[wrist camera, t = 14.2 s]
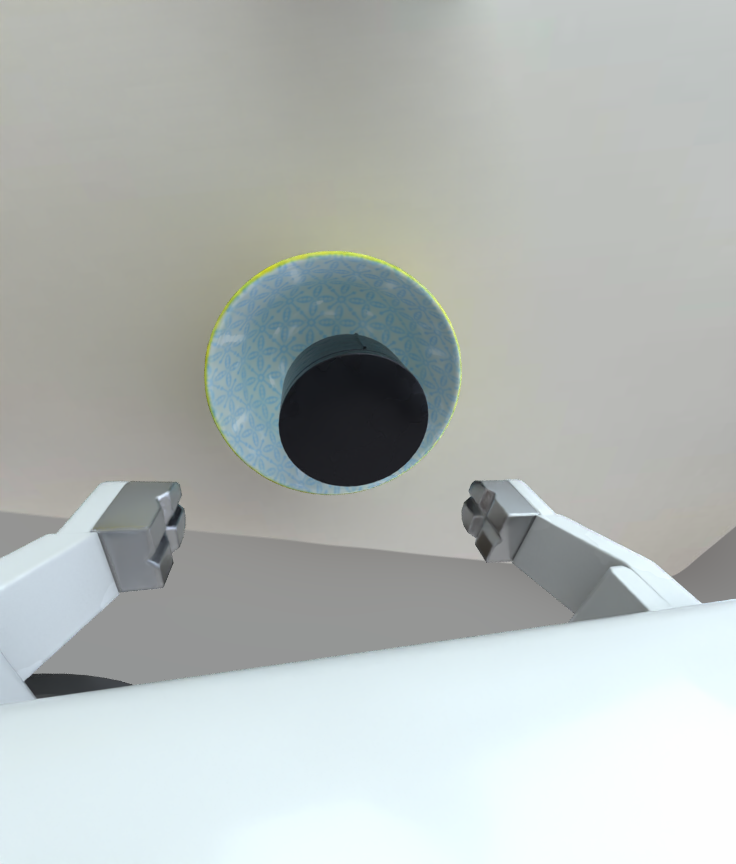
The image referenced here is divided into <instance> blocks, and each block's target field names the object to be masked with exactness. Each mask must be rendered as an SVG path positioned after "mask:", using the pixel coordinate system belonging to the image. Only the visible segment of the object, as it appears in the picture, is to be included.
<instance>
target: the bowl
mask: <svg viewBox="0 0 736 864" xmlns="http://www.w3.org/2000/svg"><path fill="white" fill-rule="evenodd" d="M355 333H358V335H362V336H366V337H369V338H372V339H374V340H376V341H378V342H380V343H382V344H383V345H385V346H386V347H387V348H389V349H390V350H391V351H392V352H393V353H394V354H395V355H396V356H397V357H398V359H399V360H400V361H401V362H402V363H403V364H404V365H405V366H406V367H407V368H408V370H409V371H410V372H411V373H412V374H413V375H414V376H415V378H416V379H417V380H418V381H419V383H420V385H421V387H422V388H423V391H424V393H425V396H426V399H427V403H428V412H429V416H428V425H427V430H426V433H425V436H424V439H423V441H422V443H421V445H420V447H419V448H418V450H417V451H416V453H415V454H414V455H413V457H412V458H411V459H410V460H409V461H408V462H407V463H406V464H405V465H404V466H403V467H402V468H400V469H399V470H398V471H396V472H395V473H393V474H392V475H390V476H388V477H386V478H384V479H382V480H379V481H377V482H374V483H370V484H366V485H361V486H351V487H344V486H334V485H329V484H325V483H322V482H320V481H317V480H315V479H313V478H311V477H309V476H307V475H306V474H304V473H303V472H302V471H300V470H299V469H298V468H297V467H296V466H295V465H294V464H293V463H292V461H291V460H290V459H289V458H288V456H287V454H286V452H285V451H284V448H283V446H282V443H281V440H280V436H279V426H278V423H279V413H280V405H281V397H282V388H283V383H284V379H285V376H286V374H287V371H288V369H289V368H290V366H291V364H292V363H293V361H294V360H295V359H296V357H297V356H298V355H299V354H300V353H301V352H302V351H303V350H305V349H306V348H307V347H309V346H310V345H311V344H313V343H315V342H317V341H319V340H321V339H324V338H327V337H330V336H334V335H341V334H355ZM461 377H462V374H461V355H460V349H459V345H458V342H457V338H456V335H455V332H454V330H453V327H452V325H451V322H450V320H449V319H448V317H447V315H446V313H445V311H444V310H443V308H442V307H441V306H440V304H439V303H438V301H437V300H436V299H435V298H434V296H433V295H432V294H431V293H430V292H429V291H428V290H427V289H426V288H425V287H424V286H423V285H422V284H421V283H419V282H418V281H417V280H416V279H414V278H413V277H412V276H410V275H409V274H408V273H406V272H404V271H403V270H401V269H399V268H398V267H396V266H394V265H392V264H389V263H387V262H385V261H382V260H379V259H376V258H374V257H371V256H366V255H362V254H357V253H352V252H343V251H322V252H314V253H307V254H303V255H299V256H295V257H291V258H288V259H285V260H282V261H280V262H278V263H276V264H274V265H272V266H270V267H268V268H266V269H264V270H263V271H261V272H260V273H258V274H257V275H255V276H254V277H253V278H251V279H250V280H249V281H248V282H246V283H245V284H244V285H243V286H242V287H241V288H240V289H239V290H238V291H237V292H236V293H235V294H234V296H233V297H232V298H231V299H230V301H229V302H228V303H227V305H226V306H225V308H224V310H223V311H222V313H221V314H220V316H219V318H218V320H217V322H216V324H215V326H214V329H213V331H212V333H211V337H210V340H209V343H208V346H207V351H206V356H205V369H204V381H205V392H206V397H207V402H208V406H209V409H210V412H211V414H212V417H213V420H214V422H215V424H216V426H217V428H218V430H219V431H220V433H221V435H222V437H223V438H224V440H225V441H226V443H227V444H228V445H229V447H230V448H231V449H232V450H233V451H234V453H235V454H236V455H237V456H238V457H239V458H240V459H241V460H242V461H243V462H244V463H245V464H246V465H248V466H249V467H250V468H251V469H253V470H254V471H256V472H257V473H258V474H260V475H261V476H263V477H265V478H267V479H268V480H270V481H272V482H274V483H276V484H279V485H281V486H284V487H286V488H289V489H293V490H297V491H300V492H305V493H311V494H320V495H340V494H350V493H356V492H361V491H365V490H368V489H371V488H374V487H377V486H380V485H382V484H384V483H387V482H389V481H391V480H393V479H395V478H397V477H398V476H400V475H402V474H403V473H405V472H406V471H408V470H409V469H411V468H412V467H413V466H414V465H416V464H417V463H418V462H419V461H420V460H421V459H422V458H424V457H425V456H426V454H427V453H428V452H429V451H430V450H431V449H432V448H433V447H434V446H435V444H436V443H437V442H438V440H439V439H440V437H441V436H442V434H443V433H444V431H445V429H446V428H447V426H448V424H449V422H450V420H451V418H452V415H453V413H454V410H455V407H456V404H457V401H458V397H459V392H460V386H461Z"/></svg>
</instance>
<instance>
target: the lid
mask: <svg viewBox="0 0 736 864" xmlns="http://www.w3.org/2000/svg"><path fill="white" fill-rule="evenodd" d="M428 416H429V412H428V403H427V399H426V396H425V393H424V391H423V388H422V387H421V385H420V383H419V381H418V380H417V379H416V378H415V376H414V375H413V374H412V373H411V372H410V371H409V370H408V368H407V367H406V366H405V365H404V364H403V363H402V362H401V361H400V360H399V359H398V357H397V356H396V355H395V354H394V353H393V352H392V351H391V350H390V349H389V348H387V347H386V346H385V345H383V344H382V343H380V342H378V341H376V340H374V339H372V338H369V337H366V336H362V335H358V333H355V334H341V335H334V336H330V337H327V338H324V339H321V340H319V341H317V342H315V343H313V344H311V345H310V346H309V347H307V348H306V349H305V350H303V351H302V352H301V353H300V354H299V355H298V356H297V357H296V359H295V360H294V361H293V363H292V364H291V366H290V368H289V369H288V371H287V374H286V376H285V379H284V383H283V388H282V397H281V405H280V413H279V423H278V426H279V436H280V440H281V443H282V446H283V448H284V451H285V452H286V454H287V456H288V458H289V459H290V460H291V461H292V463H293V464H294V465H295V466H296V467H297V468H298V469H299V470H300V471H302V472H303V473H304V474H306V475H307V476H309V477H311V478H313V479H315V480H317V481H320V482H322V483H325V484H329V485H334V486H344V487H351V486H361V485H366V484H370V483H374V482H377V481H379V480H382V479H384V478H386V477H388V476H390V475H392V474H393V473H395V472H396V471H398V470H399V469H400V468H402V467H403V466H404V465H405V464H406V463H407V462H408V461H409V460H410V459H411V458H412V457H413V455H414V454H415V453H416V451H417V450H418V448H419V447H420V445H421V443H422V441H423V439H424V436H425V433H426V430H427V425H428Z"/></svg>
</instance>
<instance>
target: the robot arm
mask: <svg viewBox="0 0 736 864" xmlns="http://www.w3.org/2000/svg"><path fill="white" fill-rule="evenodd" d="M469 493H470V496H471V497H470V498H469V499H467V500H466V501H465V502H464V505H463V508H462V521H463V525H464V527H465V529H466V530H467V532H468V533H469V534H471V535H472V536H474V537H475V538H476V541H475V545H476V547H477V548H478V550H479V551H480V553H481V555H482V556H483V558H484V559H485V561H486V562H508V561H512V563H513V564H514V565H515V566H516V567H518V568H519V569H520V570H521V571H523V572H524V573H525V574H526V575H528V576H529V577H530V578H531V579H532V580H534V581H535V582H536V583H537V584H539V585H540V586H541V587H542V588H543V589H545V590H546V591H547V592H548V593H550V594H551V595H552V596H553V597H555V598H556V599H557V600H558V601H560V602H561V603H562V604H563V605H564V606H566V607H567V608H568V609H569V610H570V611H572V612H573V613H574V615H573V617H572V618H571V619H570V621H569V622H568V623H564V624H558V625H550V626H544V627H536V628H529V629H523V630H516V631H509V632H501V633H495V634H487V635H481V636H473V637H466V638H459V639H452V640H446V641H439V642H431V643H425V644H417V645H410V646H404V647H397V648H390V649H383V650H376V651H369V652H362V653H355V654H348V655H341V656H335V657H327V658H320V659H313V660H306V661H300V662H292V663H285V664H278V665H272V666H264V667H258V668H250V669H244V670H236V671H229V672H222V673H215V674H208V675H201V676H194V677H187V678H180V679H173V680H167V681H160V682H152V683H145V684H139V685H131V686H124V687H117V688H110V689H103V690H96V691H89V692H82V693H75V694H68V695H61V696H54V697H47V698H40V699H37V698H36V697H35V696H34V694H33V693H32V692H31V690H30V689H29V688H28V686H27V685H26V684H25V682H24V681H25V680H26V679H27V678H28V677H29V676H30V675H31V674H33V673H34V672H35V671H36V670H37V669H38V668H39V667H40V666H41V665H42V664H44V663H45V662H46V661H47V660H48V659H49V658H50V657H51V656H52V655H53V654H55V653H56V652H57V651H58V650H59V649H60V648H61V647H62V646H63V645H64V644H66V643H67V642H68V641H69V640H70V639H71V638H72V637H73V636H74V635H75V634H77V633H78V632H79V631H80V630H81V629H82V628H83V627H84V626H85V625H86V624H87V623H89V622H90V621H91V620H92V619H93V618H94V617H95V616H96V615H97V614H98V613H100V612H101V611H102V610H103V609H104V608H105V607H106V606H107V605H108V604H110V603H111V602H112V601H113V600H114V599H115V598H116V597H117V596H118V595H119V592H128V591H138V590H147V589H157V588H163V587H164V585H165V582H166V580H167V577H168V575H169V572H170V570H171V568H172V565H173V558H172V553H173V552H174V551H175V550H177V549H178V548H179V547H180V544H181V542H182V539H183V536H184V531H185V526H186V517H185V510H184V508H183V507H181V506H180V505H179V504H178V503H179V501H180V498H181V496H182V493H181V488H180V484H178V483H177V482H142V481H130V482H127V481H106V482H103V483H101V484H99V485H98V486H97V487H96V488H95V490H94V491H93V492H92V493H91V494H90V495H89V496H88V498H87V499H86V500H85V501H84V502H83V503H82V505H81V506H80V507H79V508H78V509H77V510H76V511H75V513H74V514H73V515H72V516H71V517H70V518H69V520H68V521H67V522H66V523H65V524H64V526H63V527H62V528H61V529H60V530H59V531H58V532H57V533H56V534H46V535H45V536H43V537H41V538H39V539H37V540H35V541H33V542H31V543H29V544H27V545H25V546H23V547H21V548H19V549H17V550H15V551H13V552H12V553H10V554H8V555H6V556H4V557H2V558H0V864H736V599H732V600H725V601H718V602H712V603H704V604H702V603H701V602H699V601H698V600H697V599H696V598H695V597H694V596H693V595H691V594H690V593H689V592H688V591H687V590H686V589H684V588H683V587H682V586H681V585H680V584H678V583H677V582H676V581H675V580H674V579H673V578H672V577H671V576H669V575H668V574H667V573H666V572H665V571H664V570H662V569H661V568H660V567H659V566H658V565H657V564H655V563H654V562H653V561H651V560H649V559H647V558H645V557H643V556H641V555H639V554H637V553H635V552H633V551H631V550H629V549H627V548H626V547H624V546H622V545H620V544H618V543H616V542H614V541H612V540H610V539H608V538H606V537H604V536H602V535H600V534H598V533H596V532H594V531H592V530H590V529H588V528H586V527H584V526H582V525H581V524H579V523H577V522H575V521H573V520H571V519H569V518H567V517H565V516H563V515H561V514H560V515H557V514H555V513H554V512H553V511H552V510H551V509H550V508H549V507H548V506H547V505H546V504H545V503H544V502H543V501H542V500H541V499H540V498H539V497H538V496H537V495H536V494H535V493H534V492H533V491H532V490H531V489H530V488H529V487H528V486H527V485H526V484H525V483H524V482H523V481H521V480H518V479H513V480H486V481H474V482H473V483H472V484H471V486H470V489H469Z"/></svg>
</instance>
